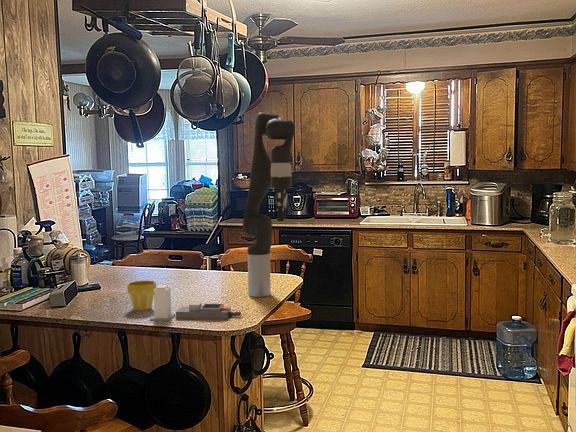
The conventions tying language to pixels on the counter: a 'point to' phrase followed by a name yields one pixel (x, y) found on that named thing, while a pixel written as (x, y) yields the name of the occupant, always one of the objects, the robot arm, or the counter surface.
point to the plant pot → (141, 294)
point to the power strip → (205, 311)
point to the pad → (162, 318)
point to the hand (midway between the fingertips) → (281, 219)
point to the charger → (162, 302)
